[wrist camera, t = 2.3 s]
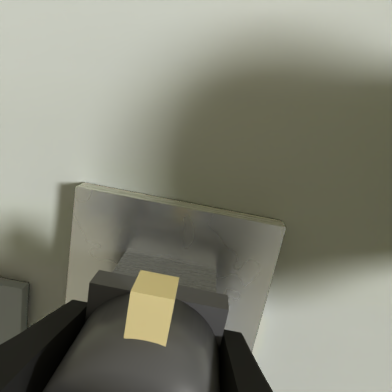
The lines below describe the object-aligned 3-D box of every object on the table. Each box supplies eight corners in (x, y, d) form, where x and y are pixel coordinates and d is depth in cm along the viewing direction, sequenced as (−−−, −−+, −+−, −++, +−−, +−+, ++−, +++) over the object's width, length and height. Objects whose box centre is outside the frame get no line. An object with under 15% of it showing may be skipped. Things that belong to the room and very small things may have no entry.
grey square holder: (238, 382, 14) (244, 449, 12) (68, 348, 15) (31, 406, 12) (281, 220, 12) (302, 252, 10) (83, 182, 12) (44, 202, 10)
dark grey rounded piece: (205, 401, 11) (201, 542, 7) (83, 377, 11) (19, 505, 7) (239, 258, 10) (254, 346, 6) (100, 231, 10) (30, 302, 6)
